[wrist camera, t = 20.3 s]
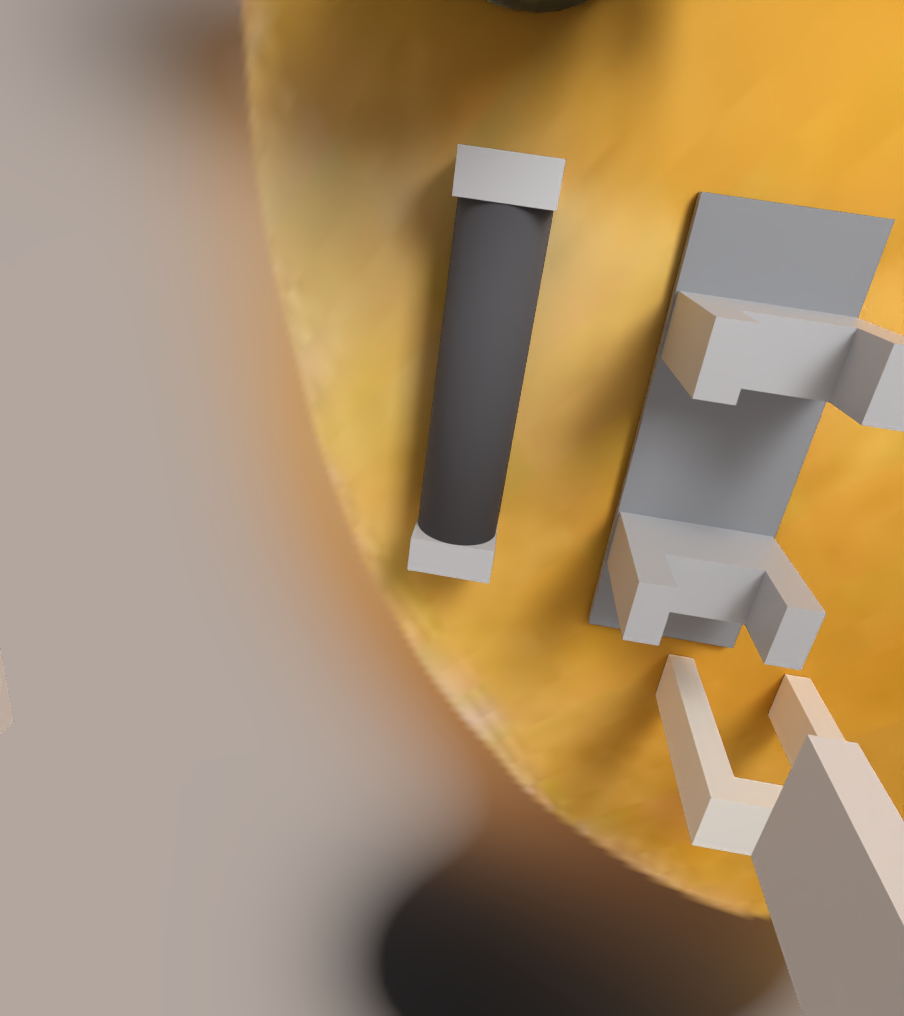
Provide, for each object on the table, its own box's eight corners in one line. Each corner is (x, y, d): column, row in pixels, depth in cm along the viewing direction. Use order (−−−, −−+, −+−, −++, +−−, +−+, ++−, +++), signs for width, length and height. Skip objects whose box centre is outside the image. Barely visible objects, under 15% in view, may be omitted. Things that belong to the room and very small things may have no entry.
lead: (467, 149, 30) (457, 143, 26) (561, 162, 30) (565, 159, 26) (419, 532, 38) (407, 569, 34) (493, 544, 38) (489, 583, 34)
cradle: (698, 191, 29) (749, 192, 22) (888, 219, 29) (998, 227, 22) (587, 617, 39) (599, 709, 32) (730, 641, 38) (773, 739, 32)
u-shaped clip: (669, 654, 39) (710, 797, 30) (810, 678, 39) (897, 831, 30) (655, 694, 41) (691, 844, 31) (792, 718, 40) (870, 877, 31)
